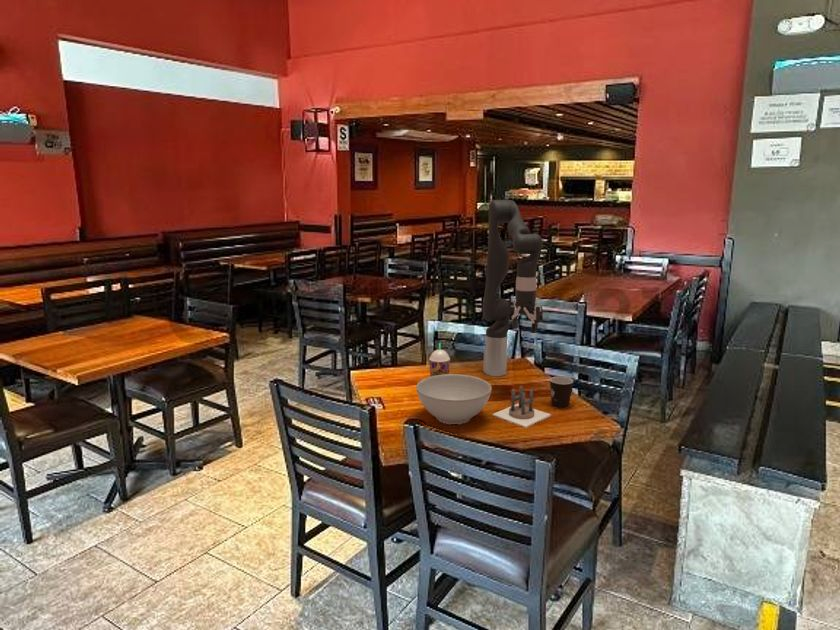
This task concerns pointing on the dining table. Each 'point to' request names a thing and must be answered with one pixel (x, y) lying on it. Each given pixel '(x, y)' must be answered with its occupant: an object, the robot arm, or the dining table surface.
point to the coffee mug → (560, 391)
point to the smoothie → (439, 362)
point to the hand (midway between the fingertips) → (524, 330)
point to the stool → (521, 405)
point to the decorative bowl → (453, 396)
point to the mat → (522, 422)
